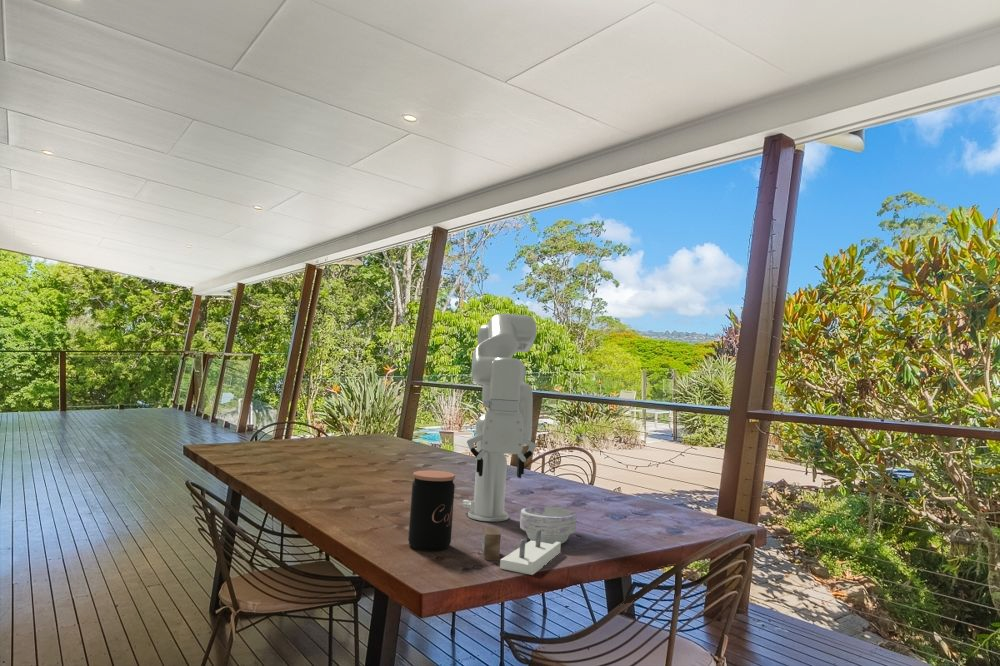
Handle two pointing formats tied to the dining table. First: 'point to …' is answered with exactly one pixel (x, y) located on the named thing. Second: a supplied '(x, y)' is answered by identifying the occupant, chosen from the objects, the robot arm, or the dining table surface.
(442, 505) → the coffee jar
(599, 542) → the dining table surface
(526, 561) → the white slotted base
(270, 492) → the dining table surface
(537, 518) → the paper bowls
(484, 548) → the wooden block
